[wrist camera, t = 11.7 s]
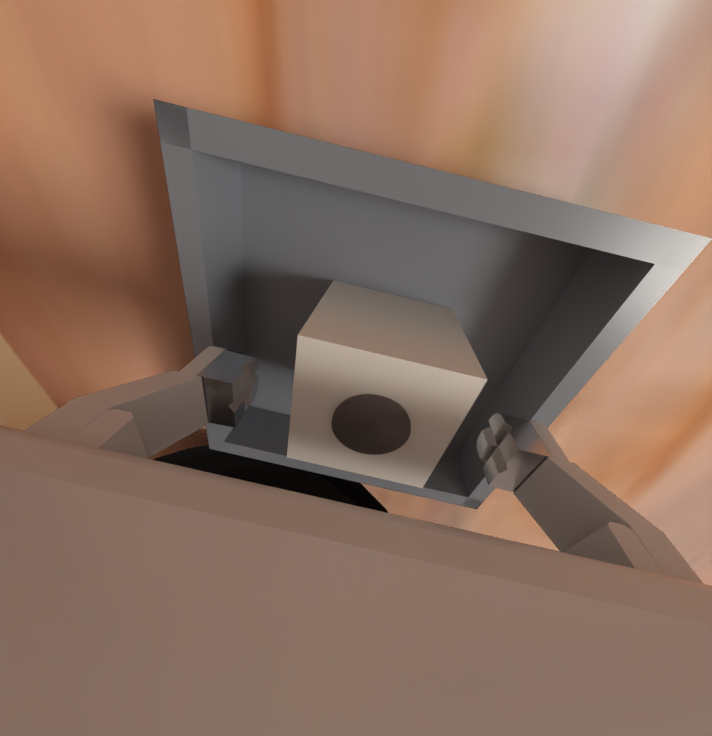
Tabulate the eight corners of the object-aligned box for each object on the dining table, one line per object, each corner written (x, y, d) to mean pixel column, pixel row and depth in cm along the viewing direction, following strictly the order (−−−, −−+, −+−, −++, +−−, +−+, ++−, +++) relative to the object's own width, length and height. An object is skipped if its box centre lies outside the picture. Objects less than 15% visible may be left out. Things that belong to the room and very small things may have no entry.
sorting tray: (462, 454, 17) (476, 509, 14) (241, 403, 17) (209, 448, 14) (615, 223, 10) (712, 238, 7) (228, 127, 9) (153, 99, 6)
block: (452, 308, 11) (489, 383, 7) (413, 399, 14) (422, 492, 10) (333, 280, 11) (296, 337, 7) (318, 377, 14) (284, 460, 10)
